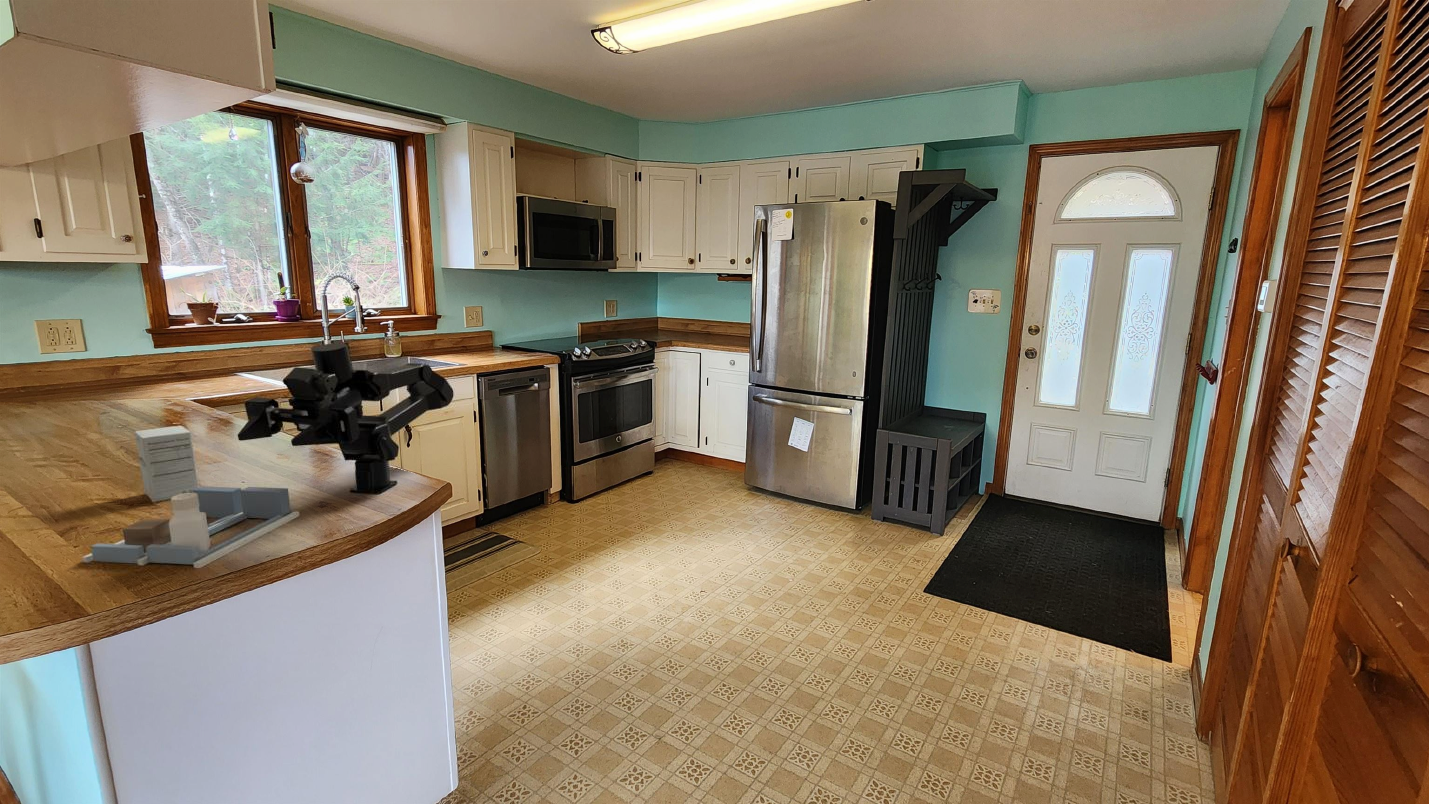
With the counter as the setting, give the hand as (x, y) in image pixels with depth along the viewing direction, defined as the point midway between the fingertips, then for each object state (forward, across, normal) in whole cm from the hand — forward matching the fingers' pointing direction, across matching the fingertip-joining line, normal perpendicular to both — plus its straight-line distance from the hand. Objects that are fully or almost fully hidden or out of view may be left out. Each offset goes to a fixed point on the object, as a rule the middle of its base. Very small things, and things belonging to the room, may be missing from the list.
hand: (265, 440), depth 103 cm
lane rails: (+5, -11, +17) cm, 21 cm away
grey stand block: (+4, -7, +16) cm, 18 cm away
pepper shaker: (+11, -7, +16) cm, 20 cm away
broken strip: (+5, -16, +17) cm, 24 cm away
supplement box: (-13, -35, +21) cm, 42 cm away
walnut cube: (+9, -16, +16) cm, 24 cm away
